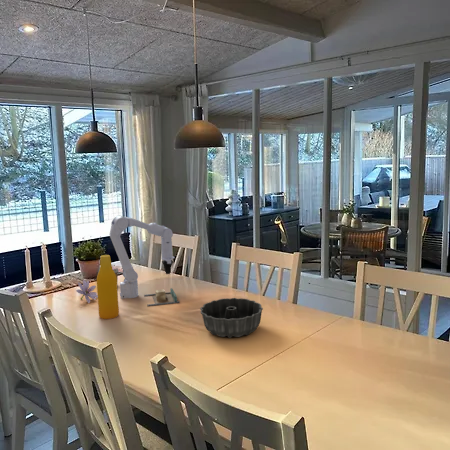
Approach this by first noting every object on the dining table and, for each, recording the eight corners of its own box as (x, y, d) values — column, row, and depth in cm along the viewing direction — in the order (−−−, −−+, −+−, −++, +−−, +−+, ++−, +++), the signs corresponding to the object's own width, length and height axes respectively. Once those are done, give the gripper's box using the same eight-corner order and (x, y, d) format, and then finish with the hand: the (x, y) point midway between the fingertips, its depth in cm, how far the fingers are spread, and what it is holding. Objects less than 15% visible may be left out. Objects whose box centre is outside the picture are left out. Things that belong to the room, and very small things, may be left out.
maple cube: (156, 301, 224) (156, 292, 223) (155, 298, 228) (155, 290, 227) (165, 300, 225) (165, 291, 224) (164, 297, 229) (164, 289, 229)
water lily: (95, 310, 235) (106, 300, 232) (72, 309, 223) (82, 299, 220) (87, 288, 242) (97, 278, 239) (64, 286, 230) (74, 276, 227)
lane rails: (147, 308, 216) (147, 305, 216) (144, 297, 233) (144, 294, 233) (179, 304, 220) (179, 301, 220) (174, 294, 237) (173, 291, 237)
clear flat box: (155, 306, 219) (155, 298, 218) (152, 297, 233) (151, 290, 232) (177, 303, 221) (176, 296, 221) (172, 295, 236) (172, 288, 235)
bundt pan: (208, 346, 170) (208, 322, 169) (195, 322, 195) (194, 301, 194) (272, 338, 177) (272, 314, 176) (251, 316, 202) (250, 295, 201)
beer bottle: (113, 319, 201) (110, 258, 197) (95, 318, 203) (91, 257, 199) (122, 313, 210) (118, 253, 206) (104, 312, 212) (100, 253, 208)
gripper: (176, 251, 232) (177, 276, 234) (172, 246, 246) (172, 269, 248) (163, 252, 230) (164, 277, 232) (159, 247, 244) (160, 271, 246)
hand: (167, 273), depth 240 cm, fingers closed
